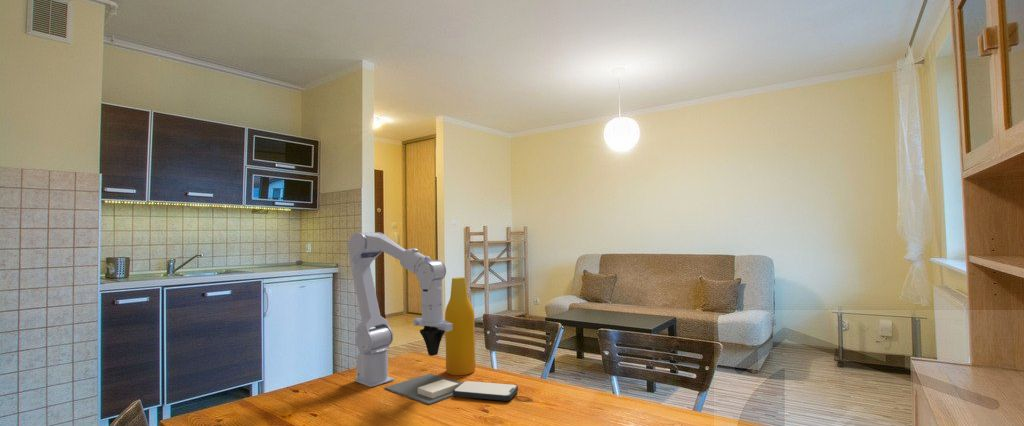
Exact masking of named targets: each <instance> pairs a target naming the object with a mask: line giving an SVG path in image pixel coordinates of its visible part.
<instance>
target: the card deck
mask: <svg viewBox="0 0 1024 426" xmlns="http://www.w3.org/2000/svg"><path fill="white" fill-rule="evenodd" d="M458 386H459V384H458V383H455V382H451V381H448V380H444V379H443V380H440V381H437V382H434V383H430V384H427V385H424V386H421V387H418V394H421V395H424V396H426V397H429V398H432V399H433V398H436V397H439V396H442V395H444V394H447V393H450V392H453V390H454V389H455V388H456V387H458Z"/></svg>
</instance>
